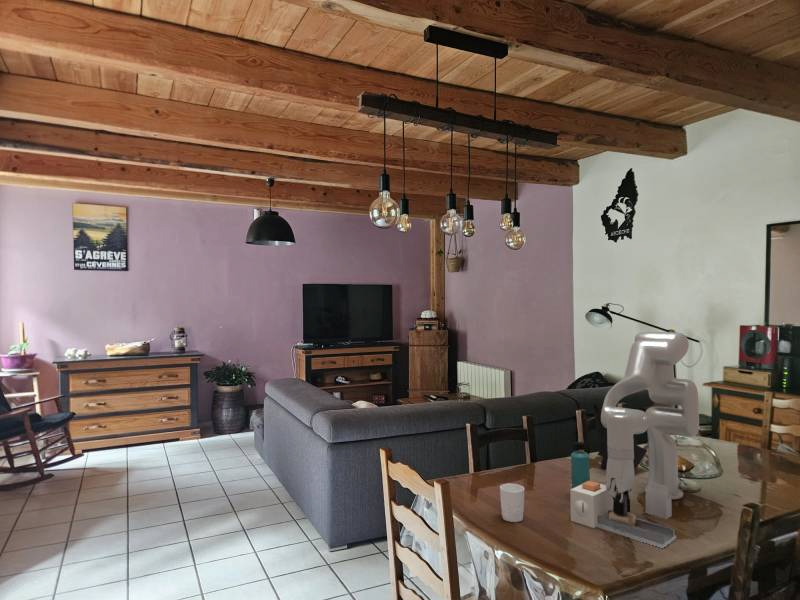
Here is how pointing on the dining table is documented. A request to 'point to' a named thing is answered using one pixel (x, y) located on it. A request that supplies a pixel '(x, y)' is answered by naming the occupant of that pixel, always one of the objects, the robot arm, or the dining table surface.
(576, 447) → the beverage bottle
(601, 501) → the gauge cabinet
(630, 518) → the carriage
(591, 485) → the button
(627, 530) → the rail
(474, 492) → the dining table surface
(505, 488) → the white cup
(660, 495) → the light grey block
